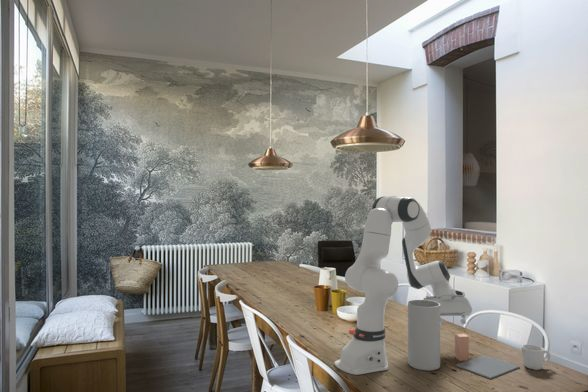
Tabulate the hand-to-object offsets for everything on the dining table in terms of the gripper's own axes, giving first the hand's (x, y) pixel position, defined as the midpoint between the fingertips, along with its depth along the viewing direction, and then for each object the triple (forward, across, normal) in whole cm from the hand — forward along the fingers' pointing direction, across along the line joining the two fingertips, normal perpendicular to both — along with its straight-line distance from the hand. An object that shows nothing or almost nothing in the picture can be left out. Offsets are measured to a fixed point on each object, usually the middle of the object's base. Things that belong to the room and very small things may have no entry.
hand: (453, 323), depth 187 cm
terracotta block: (+14, 0, +3) cm, 15 cm away
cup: (+22, +26, -4) cm, 34 cm away
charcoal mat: (+21, +6, -3) cm, 22 cm away
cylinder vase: (+19, -18, -1) cm, 26 cm away
